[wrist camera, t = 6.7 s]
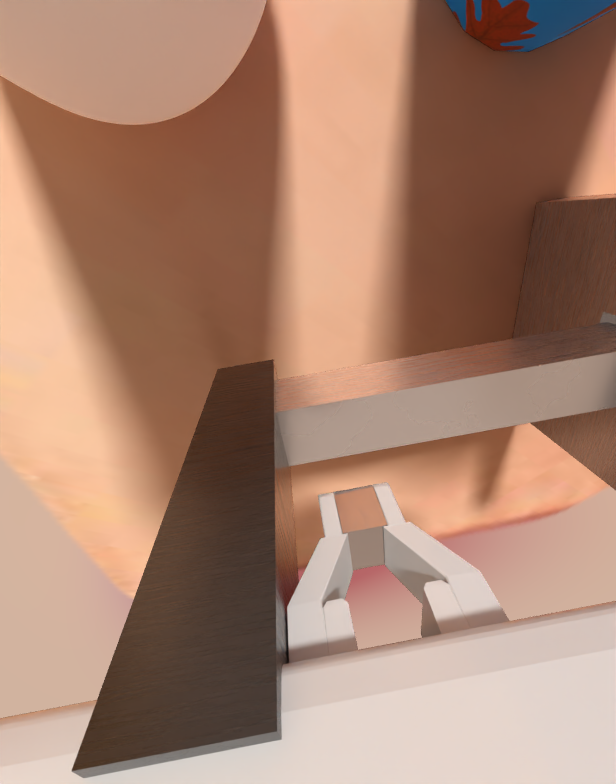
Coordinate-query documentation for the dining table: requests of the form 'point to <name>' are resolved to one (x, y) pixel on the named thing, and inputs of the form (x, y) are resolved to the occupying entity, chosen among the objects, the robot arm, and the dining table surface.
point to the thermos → (525, 20)
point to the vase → (125, 53)
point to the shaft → (291, 526)
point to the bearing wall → (573, 306)
